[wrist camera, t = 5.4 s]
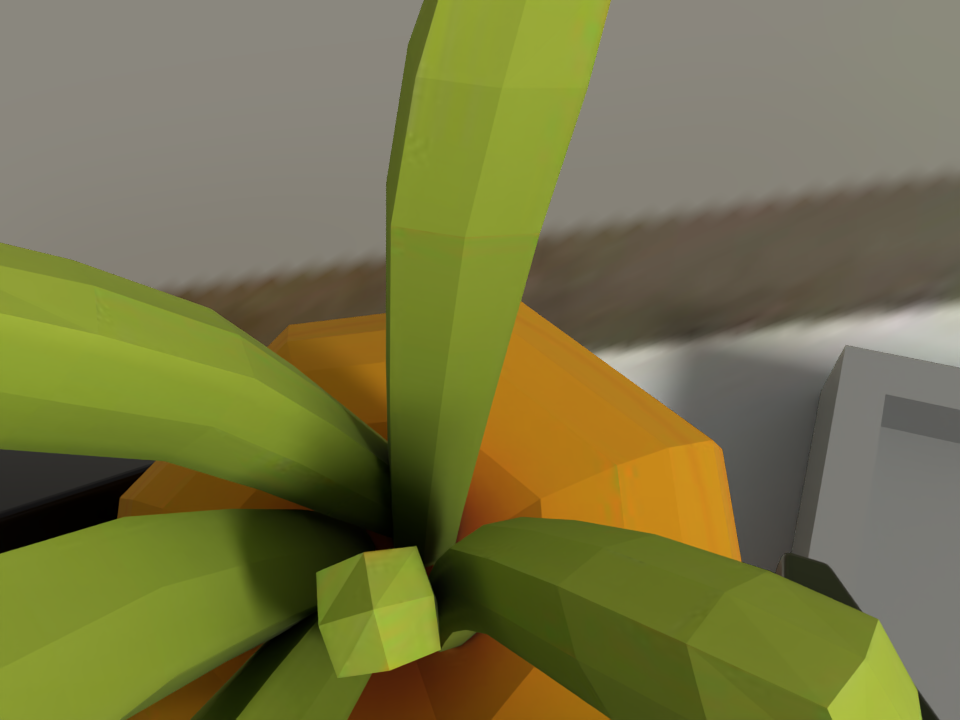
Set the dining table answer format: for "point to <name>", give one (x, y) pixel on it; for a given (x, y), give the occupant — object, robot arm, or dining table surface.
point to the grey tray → (892, 506)
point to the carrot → (402, 472)
